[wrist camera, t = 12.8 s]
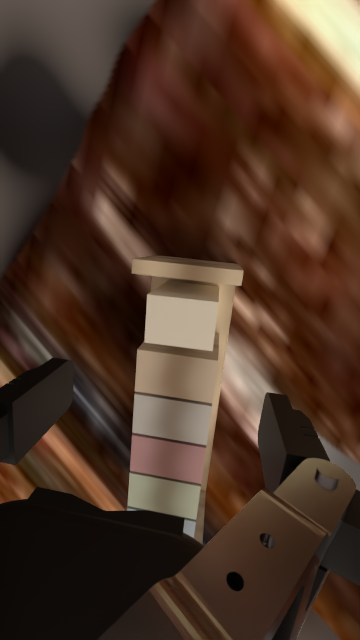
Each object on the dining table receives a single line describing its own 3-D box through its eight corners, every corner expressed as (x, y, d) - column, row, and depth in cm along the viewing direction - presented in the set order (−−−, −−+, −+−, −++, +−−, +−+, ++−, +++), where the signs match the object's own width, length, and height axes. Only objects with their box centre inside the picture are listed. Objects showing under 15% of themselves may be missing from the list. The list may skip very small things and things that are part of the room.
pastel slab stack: (139, 477, 41) (116, 545, 31) (156, 255, 33) (130, 259, 24) (205, 490, 40) (200, 563, 30) (237, 263, 32) (243, 271, 23)
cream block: (167, 281, 32) (147, 294, 23) (219, 286, 31) (218, 302, 23) (164, 316, 33) (144, 342, 24) (215, 322, 32) (212, 351, 24)
